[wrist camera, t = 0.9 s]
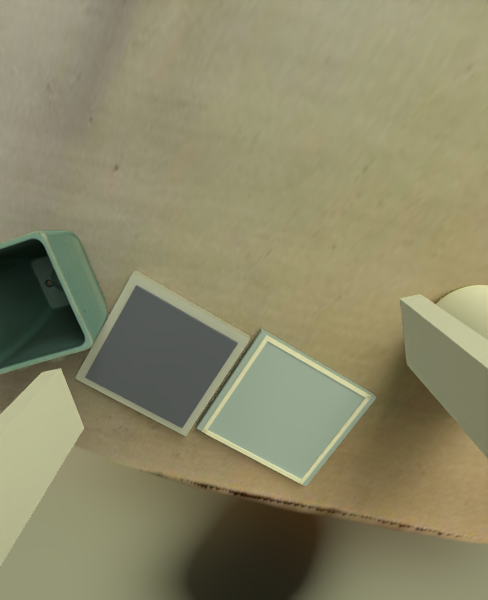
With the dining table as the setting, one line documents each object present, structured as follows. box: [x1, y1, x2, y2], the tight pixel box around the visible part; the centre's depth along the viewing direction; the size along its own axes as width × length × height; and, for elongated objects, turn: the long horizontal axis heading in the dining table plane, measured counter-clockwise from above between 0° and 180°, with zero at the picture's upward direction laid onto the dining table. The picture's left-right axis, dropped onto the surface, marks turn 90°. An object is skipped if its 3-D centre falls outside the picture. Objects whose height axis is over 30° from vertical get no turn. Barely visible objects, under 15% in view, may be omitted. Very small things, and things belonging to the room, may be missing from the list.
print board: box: [196, 328, 376, 486], centre depth 40 cm, size 13×12×1 cm
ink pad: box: [75, 270, 250, 436], centre depth 38 cm, size 12×12×1 cm
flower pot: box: [0, 230, 107, 375], centre depth 33 cm, size 9×9×9 cm
